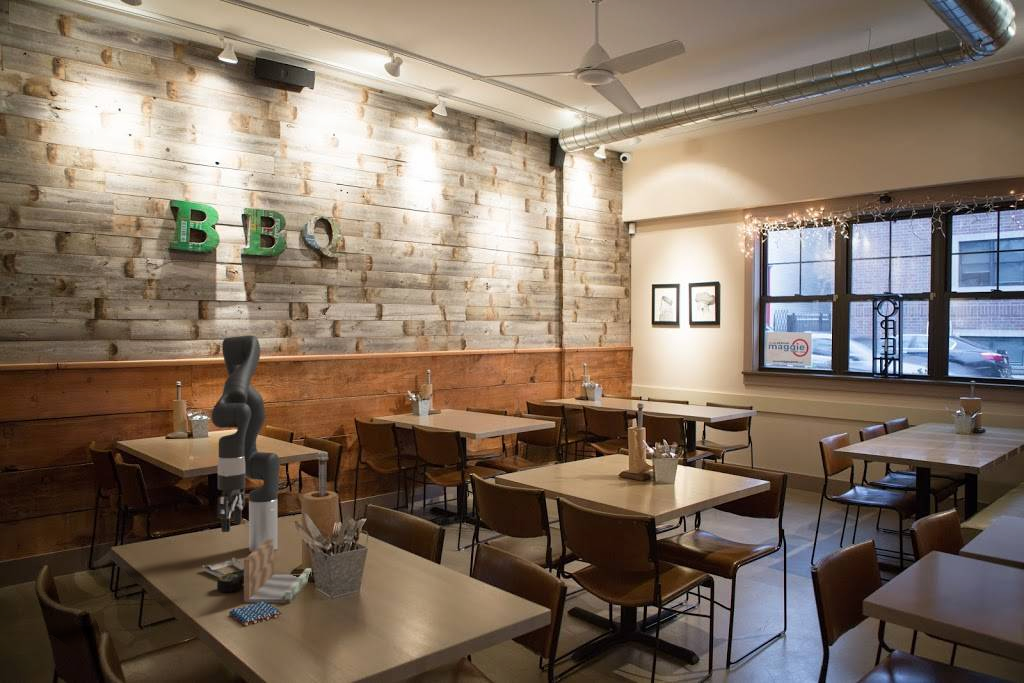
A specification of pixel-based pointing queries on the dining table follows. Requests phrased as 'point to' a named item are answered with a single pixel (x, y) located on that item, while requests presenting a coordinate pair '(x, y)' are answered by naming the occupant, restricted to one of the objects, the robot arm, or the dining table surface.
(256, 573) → the cleat board
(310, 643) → the dining table surface
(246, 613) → the woven mat
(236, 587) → the tape measure
